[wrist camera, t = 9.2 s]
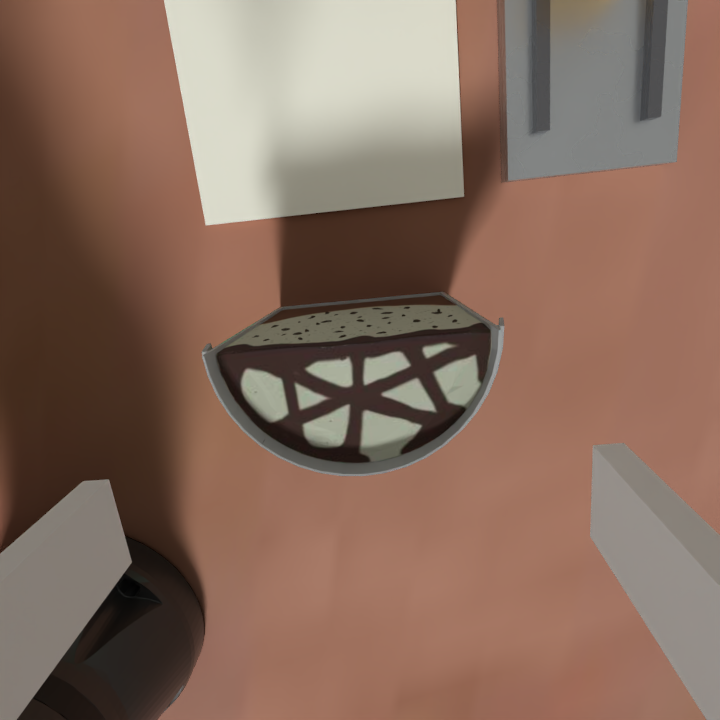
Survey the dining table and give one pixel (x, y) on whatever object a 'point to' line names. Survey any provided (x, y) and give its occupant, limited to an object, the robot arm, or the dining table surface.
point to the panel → (588, 85)
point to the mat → (318, 103)
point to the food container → (358, 380)
